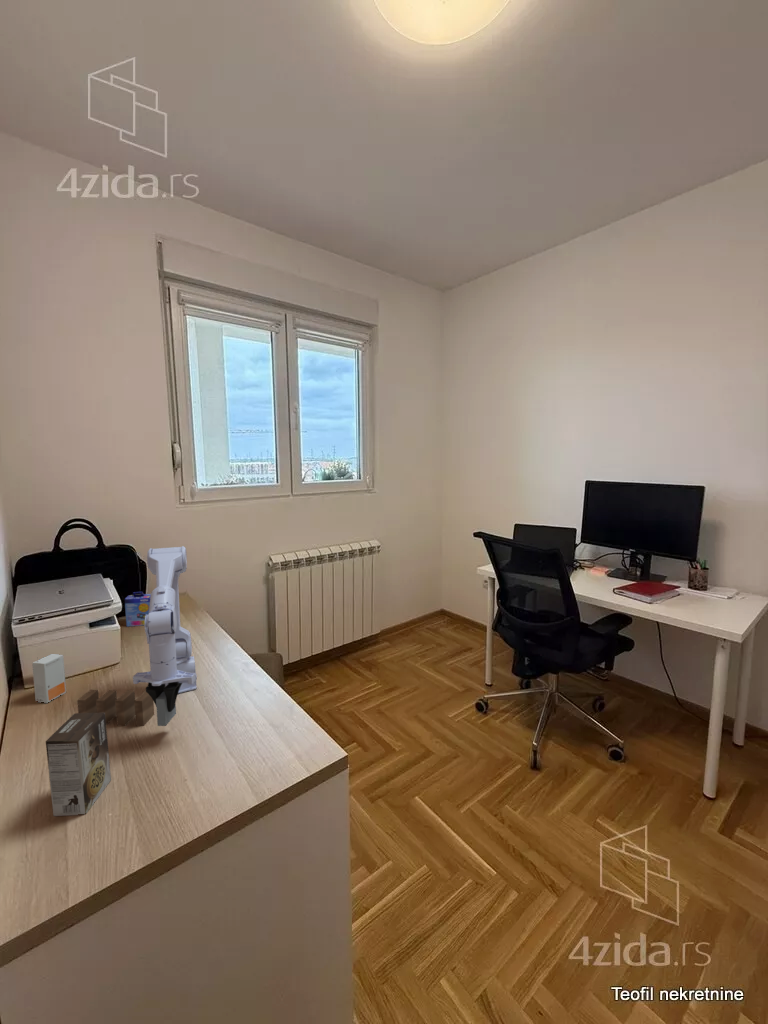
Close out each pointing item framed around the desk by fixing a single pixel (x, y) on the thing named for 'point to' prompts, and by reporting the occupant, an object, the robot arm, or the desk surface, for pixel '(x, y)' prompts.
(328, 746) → the desk surface
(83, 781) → the coffee box
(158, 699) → the domino
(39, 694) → the skincare box
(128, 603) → the ink cartridge box
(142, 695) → the domino
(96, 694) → the domino
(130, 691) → the domino
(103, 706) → the domino
